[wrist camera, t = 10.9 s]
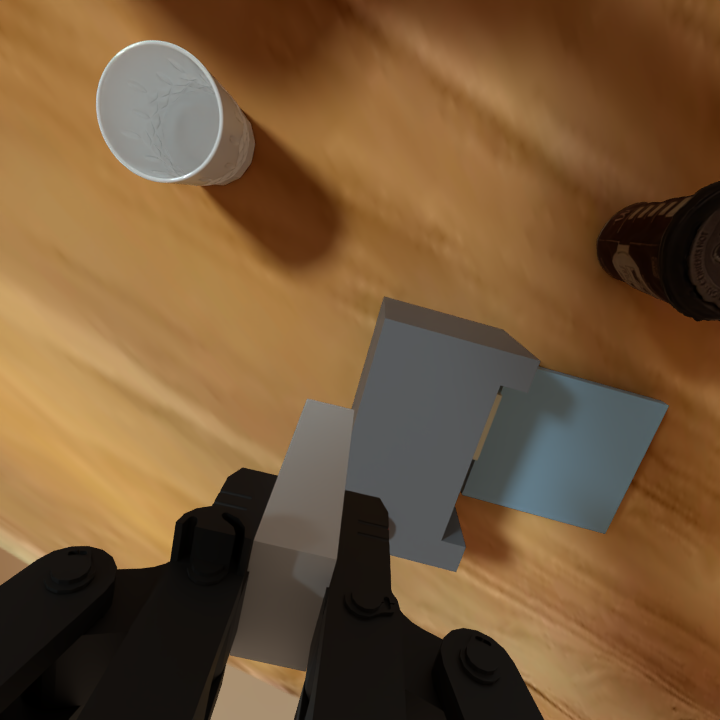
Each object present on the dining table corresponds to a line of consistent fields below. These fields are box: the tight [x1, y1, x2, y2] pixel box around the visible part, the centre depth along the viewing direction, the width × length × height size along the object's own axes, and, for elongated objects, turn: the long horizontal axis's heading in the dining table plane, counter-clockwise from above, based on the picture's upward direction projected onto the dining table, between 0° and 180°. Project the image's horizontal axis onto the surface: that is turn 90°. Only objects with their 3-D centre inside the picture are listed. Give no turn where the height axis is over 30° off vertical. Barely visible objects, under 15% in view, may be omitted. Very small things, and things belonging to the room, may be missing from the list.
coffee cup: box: [597, 181, 720, 321], centre depth 33 cm, size 9×8×13 cm
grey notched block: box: [345, 297, 540, 572], centre depth 39 cm, size 19×11×11 cm, turn 165°
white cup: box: [96, 40, 255, 186], centre depth 33 cm, size 8×8×10 cm
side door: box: [461, 366, 669, 534], centre depth 43 cm, size 14×2×14 cm
